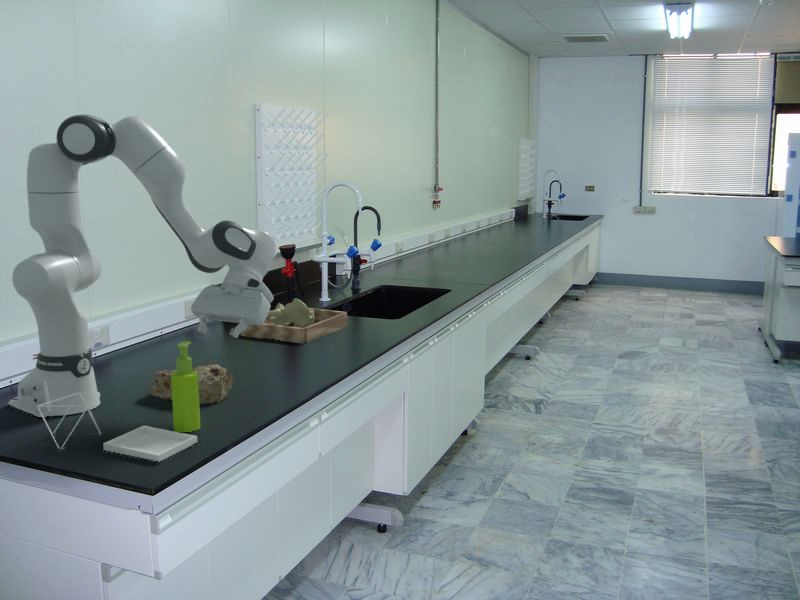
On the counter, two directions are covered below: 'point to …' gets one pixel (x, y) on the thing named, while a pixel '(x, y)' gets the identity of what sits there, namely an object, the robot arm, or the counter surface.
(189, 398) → the soap dispenser
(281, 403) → the counter surface
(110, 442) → the tray
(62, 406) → the geometric polyhedron
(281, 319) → the pelvis bone
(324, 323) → the specimen frame
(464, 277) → the counter surface
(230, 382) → the rock
